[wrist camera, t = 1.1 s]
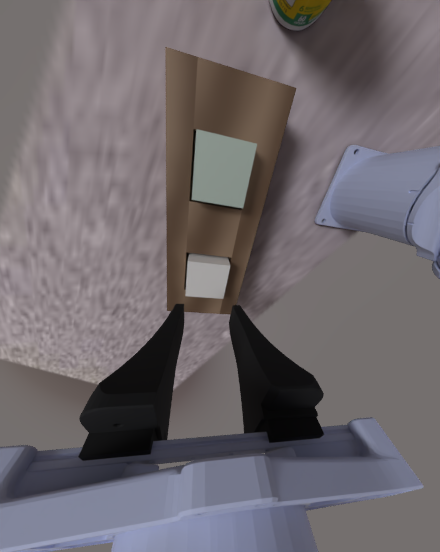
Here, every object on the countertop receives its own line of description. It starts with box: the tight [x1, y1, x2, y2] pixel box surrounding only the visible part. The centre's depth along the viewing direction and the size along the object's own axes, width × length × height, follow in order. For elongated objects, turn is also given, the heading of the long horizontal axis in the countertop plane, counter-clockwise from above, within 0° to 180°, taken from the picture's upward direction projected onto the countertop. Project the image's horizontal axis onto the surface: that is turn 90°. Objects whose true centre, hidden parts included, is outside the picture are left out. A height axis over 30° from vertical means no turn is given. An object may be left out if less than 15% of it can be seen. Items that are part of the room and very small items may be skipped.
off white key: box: [185, 253, 230, 299], centre depth 18 cm, size 4×4×3 cm
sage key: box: [192, 129, 257, 208], centre depth 13 cm, size 4×4×3 cm
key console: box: [166, 47, 296, 314], centre depth 18 cm, size 9×22×4 cm, turn 171°
